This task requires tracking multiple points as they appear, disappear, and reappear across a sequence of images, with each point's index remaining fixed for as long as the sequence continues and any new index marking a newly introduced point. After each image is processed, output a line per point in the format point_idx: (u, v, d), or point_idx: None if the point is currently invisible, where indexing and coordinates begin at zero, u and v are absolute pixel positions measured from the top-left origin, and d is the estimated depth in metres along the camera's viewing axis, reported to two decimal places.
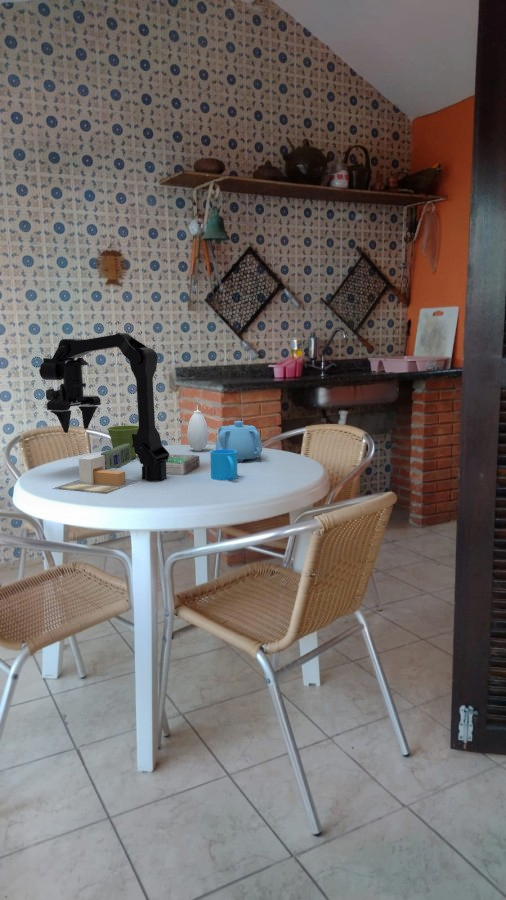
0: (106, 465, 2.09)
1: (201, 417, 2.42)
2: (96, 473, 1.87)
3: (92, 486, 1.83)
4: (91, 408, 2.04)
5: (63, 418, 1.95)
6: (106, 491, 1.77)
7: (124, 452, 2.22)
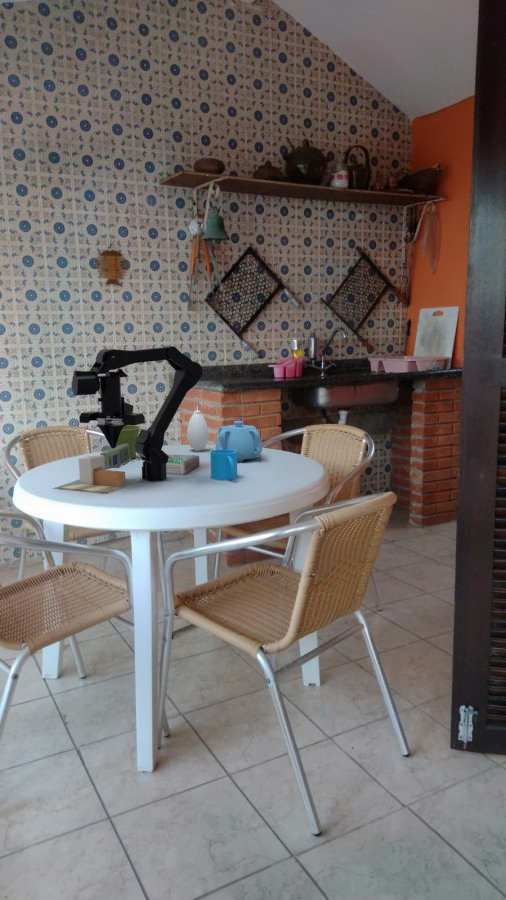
0: (105, 465, 2.09)
1: (201, 417, 2.42)
2: (96, 473, 1.87)
3: (92, 486, 1.83)
4: None
5: None
6: (106, 491, 1.77)
7: (123, 452, 2.22)
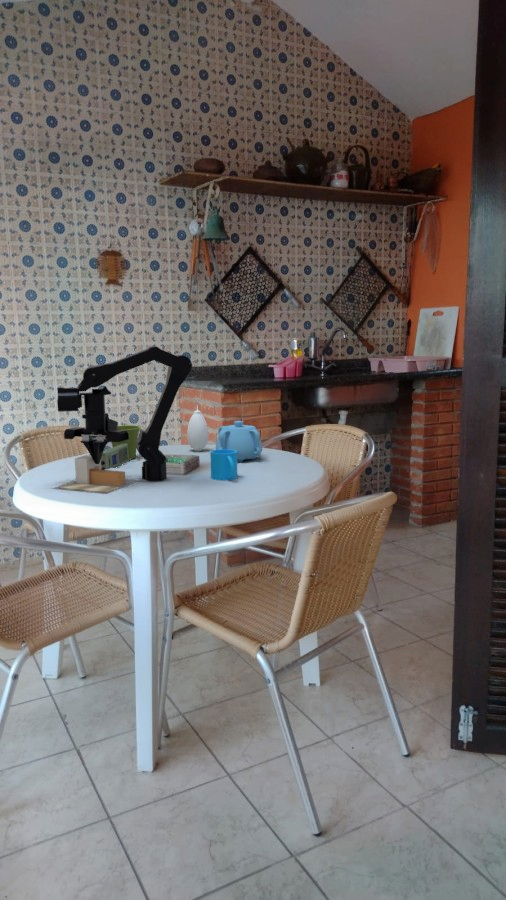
0: (105, 465, 2.09)
1: (201, 417, 2.42)
2: (96, 473, 1.87)
3: (92, 486, 1.83)
4: None
5: None
6: (106, 491, 1.77)
7: (123, 452, 2.22)
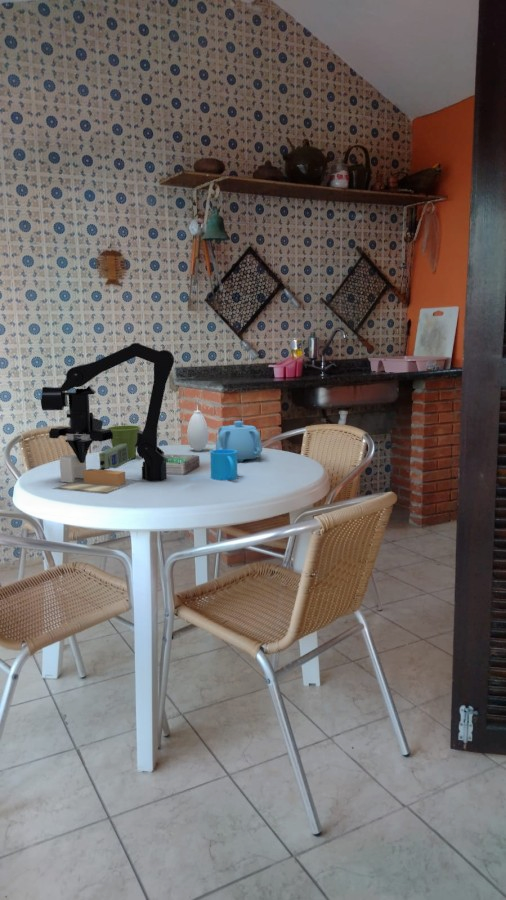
0: (104, 465, 2.09)
1: (201, 417, 2.42)
2: (96, 473, 1.87)
3: (92, 486, 1.83)
4: None
5: None
6: (106, 491, 1.77)
7: (122, 452, 2.22)
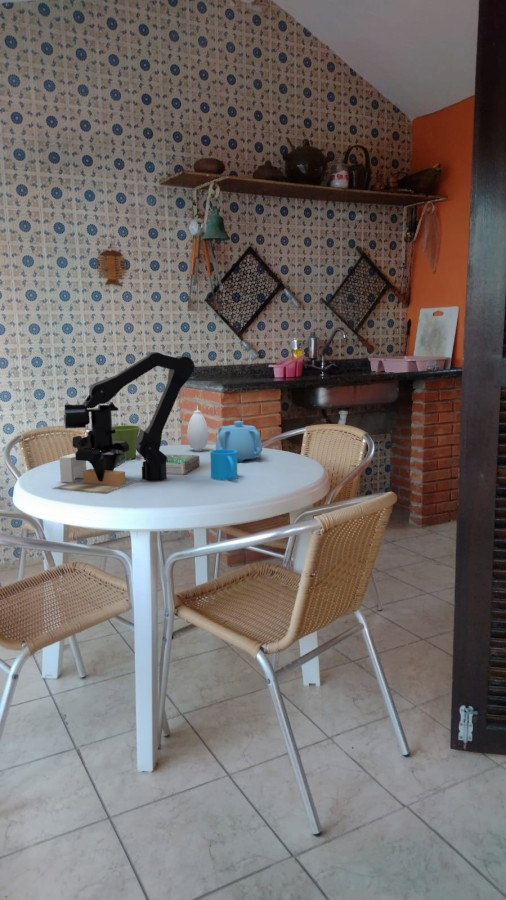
0: None
1: (201, 417, 2.42)
2: None
3: (92, 486, 1.83)
4: (114, 456, 1.89)
5: (98, 466, 1.85)
6: (106, 491, 1.77)
7: (120, 452, 2.22)
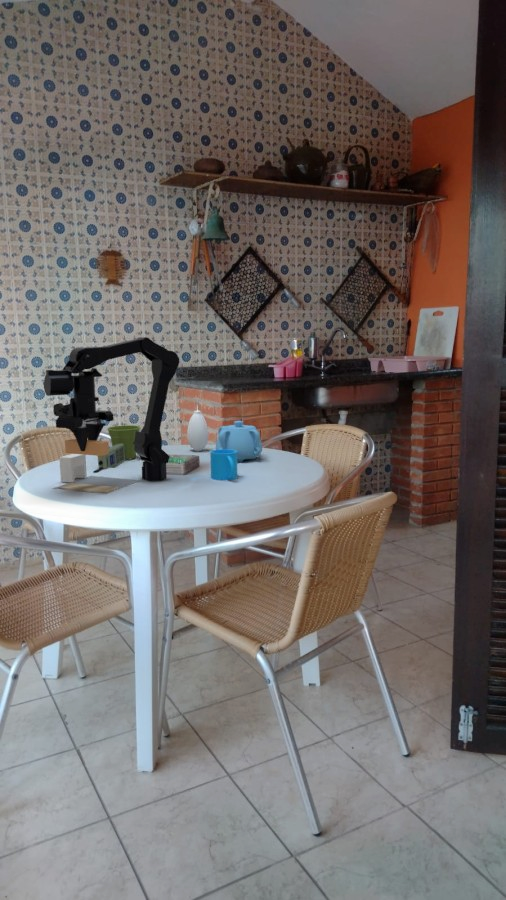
0: (103, 465, 2.09)
1: (201, 417, 2.42)
2: None
3: (92, 486, 1.83)
4: (98, 426, 1.80)
5: (80, 435, 1.76)
6: (106, 491, 1.77)
7: (119, 452, 2.22)
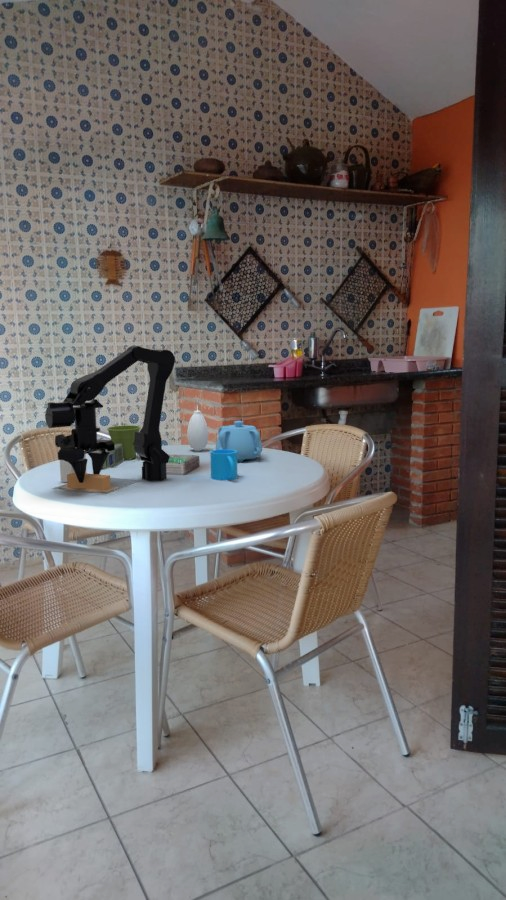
0: None
1: (201, 417, 2.42)
2: None
3: None
4: (102, 455, 1.83)
5: (78, 467, 1.76)
6: (106, 491, 1.77)
7: (118, 452, 2.22)
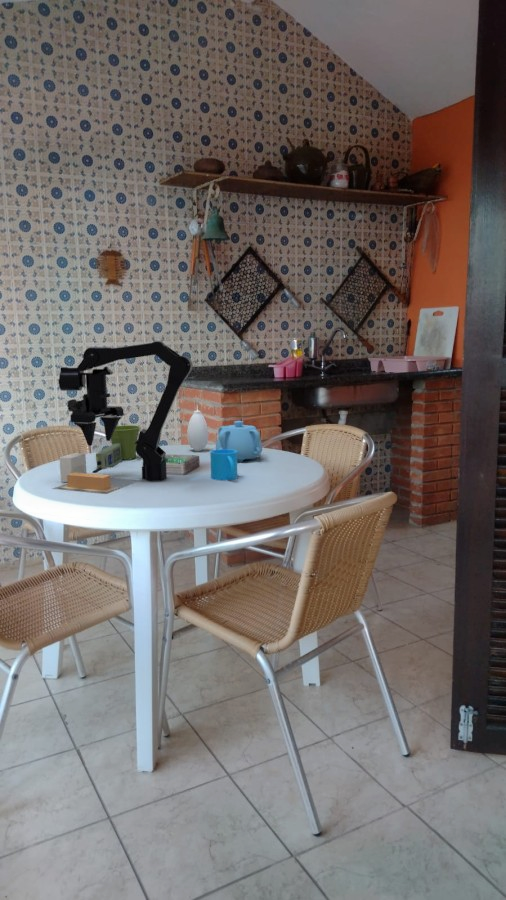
0: (101, 465, 2.09)
1: (201, 417, 2.42)
2: (80, 477, 1.80)
3: None
4: (114, 419, 1.95)
5: (87, 430, 1.86)
6: (106, 491, 1.77)
7: (116, 452, 2.22)
